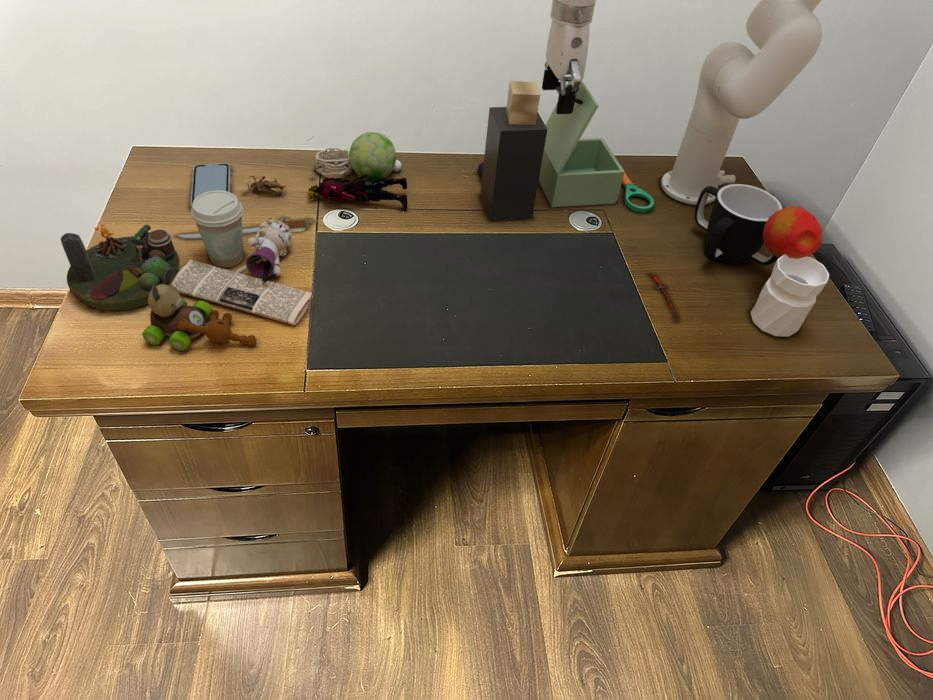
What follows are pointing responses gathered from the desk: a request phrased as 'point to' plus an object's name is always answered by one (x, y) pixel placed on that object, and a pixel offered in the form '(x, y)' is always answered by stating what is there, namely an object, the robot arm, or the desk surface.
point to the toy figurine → (218, 329)
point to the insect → (265, 185)
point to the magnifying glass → (636, 192)
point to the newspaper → (242, 292)
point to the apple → (792, 233)
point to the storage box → (583, 176)
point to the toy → (268, 249)
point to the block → (522, 103)
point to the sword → (293, 226)
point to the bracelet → (328, 166)
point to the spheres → (397, 166)
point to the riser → (511, 166)
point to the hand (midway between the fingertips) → (556, 101)
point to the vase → (789, 295)
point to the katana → (663, 292)
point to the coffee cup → (220, 226)
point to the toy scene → (119, 267)
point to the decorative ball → (372, 156)
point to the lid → (568, 127)
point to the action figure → (359, 189)
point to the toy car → (173, 315)
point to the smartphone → (210, 179)
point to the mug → (736, 223)
